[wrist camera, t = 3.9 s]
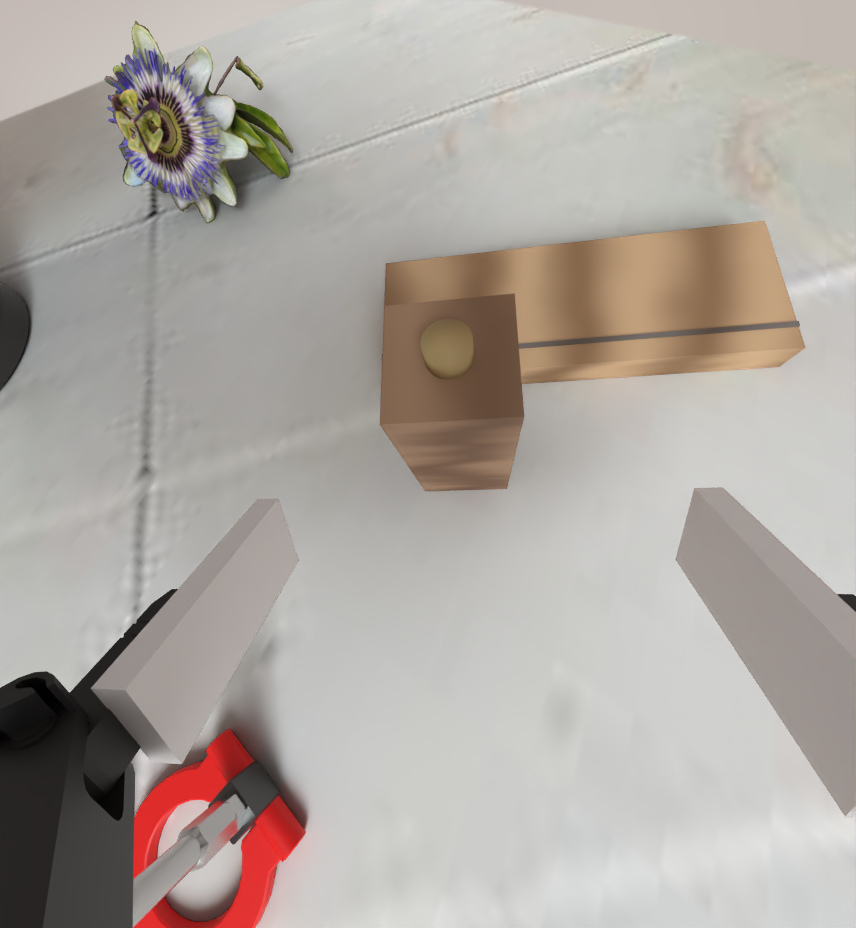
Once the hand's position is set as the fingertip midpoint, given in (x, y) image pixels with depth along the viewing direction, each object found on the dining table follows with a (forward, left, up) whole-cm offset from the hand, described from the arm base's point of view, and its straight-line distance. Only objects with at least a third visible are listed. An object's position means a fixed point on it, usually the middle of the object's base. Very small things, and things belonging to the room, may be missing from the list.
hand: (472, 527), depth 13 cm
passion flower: (-39, -5, -11) cm, 41 cm away
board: (-11, +12, -10) cm, 19 cm away
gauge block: (-6, +2, -10) cm, 12 cm away
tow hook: (+7, -20, -11) cm, 24 cm away
